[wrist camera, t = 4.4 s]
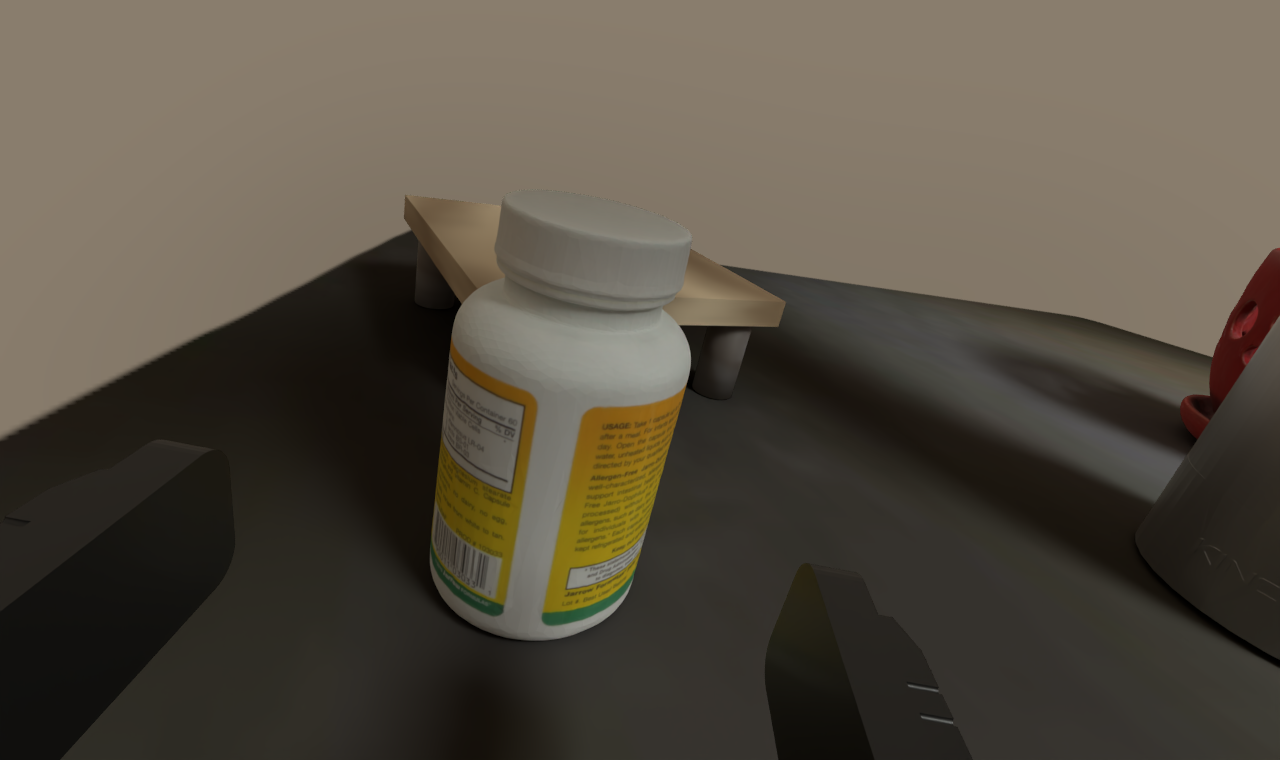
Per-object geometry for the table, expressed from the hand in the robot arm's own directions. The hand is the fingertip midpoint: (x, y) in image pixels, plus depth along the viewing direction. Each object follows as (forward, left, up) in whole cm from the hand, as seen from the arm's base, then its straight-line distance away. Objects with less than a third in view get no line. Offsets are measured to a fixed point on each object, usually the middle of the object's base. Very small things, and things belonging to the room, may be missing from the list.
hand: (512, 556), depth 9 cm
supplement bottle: (-3, -6, -6) cm, 9 cm away
